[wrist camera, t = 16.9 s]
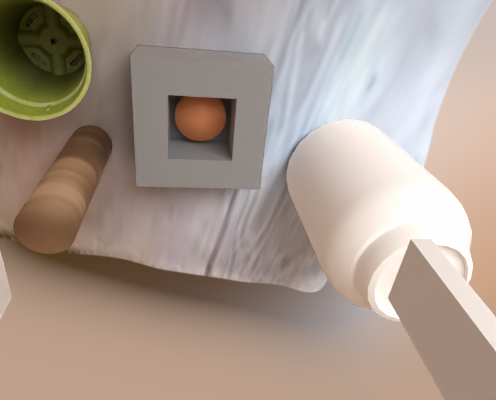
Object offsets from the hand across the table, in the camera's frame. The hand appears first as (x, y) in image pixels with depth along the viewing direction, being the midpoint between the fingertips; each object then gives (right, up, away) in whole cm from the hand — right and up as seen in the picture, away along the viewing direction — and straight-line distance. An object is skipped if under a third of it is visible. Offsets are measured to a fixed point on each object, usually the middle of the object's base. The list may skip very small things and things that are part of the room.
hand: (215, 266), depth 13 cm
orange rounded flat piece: (-4, +11, +28) cm, 31 cm away
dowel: (-15, +8, +29) cm, 33 cm away
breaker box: (-4, +11, +28) cm, 31 cm away
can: (+11, +6, +34) cm, 36 cm away
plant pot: (-16, +17, +24) cm, 33 cm away
